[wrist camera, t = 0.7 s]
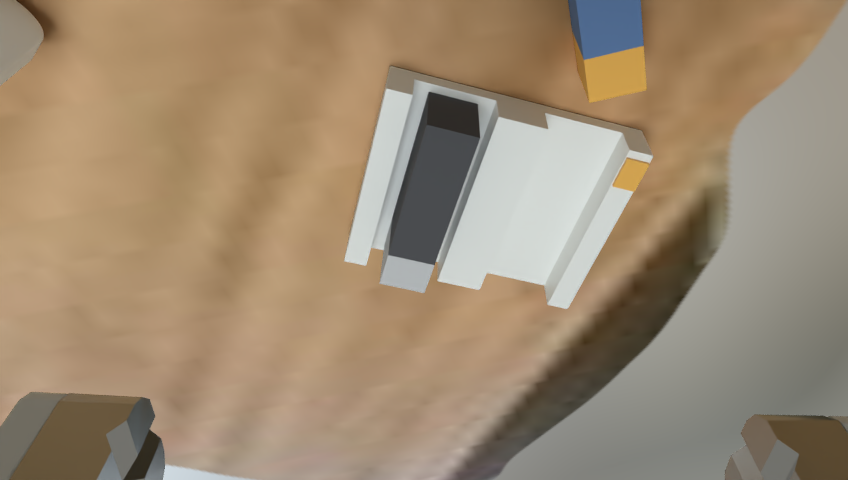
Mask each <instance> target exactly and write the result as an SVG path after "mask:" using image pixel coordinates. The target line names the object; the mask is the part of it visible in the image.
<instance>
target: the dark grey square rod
mask: <svg viewBox="0 0 848 480" xmlns="http://www.w3.org/2000/svg"><path fill="white" fill-rule="evenodd" d="M479 140H480V128H479V114H478V104H476V103H472V102H468V101H464V100H460V99H457V98H453V97H449V96H445V95H441V94H437V93H433V92H428V96H427V99H426V102H425V106H424V109H423V113H422V116H421V120H420V123H419V127H418V130H417V134H416V137H415V141H414V144H413V147H412V151H411V154H410V158H409V161H408V165H407V168H406V172H405V175H404V179H403V182H402V186H401V189H400V192H399V196H398V199H397V203H396V206H395V210H394V213H393V217H392V220H391V224H390V227H389V231H388V234H387V237H386V241H385V244H384V252H383V260H382V268H381V277H380V284H384V285H389V286H394V287H398V288H403V289H408V290H413V291H417V292H422V293H425V290H426V287H427V284H428V282H429V279H430V276H431V273H432V270H433V268H434V265H435V262H436V259H437V257H438V254H439V251H440V248H441V246H442V243H443V240H444V237H445V234H446V232H447V229H448V226H449V223H450V221H451V218H452V215H453V212H454V209H455V207H456V204H457V201H458V198H459V196H460V193H461V190H462V187H463V184H464V182H465V179H466V176H467V173H468V171H469V168H470V165H471V162H472V159H473V157H474V154H475V151H476V148H477V146H478V143H479Z"/></svg>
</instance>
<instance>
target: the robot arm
mask: <svg viewBox="0 0 848 480" xmlns="http://www.w3.org/2000/svg"><path fill="white" fill-rule="evenodd" d="M154 418H155V414H154V411H153V408H152V405H151V402H150V399H147V398H143V397H129V396H110V395H92V394H74V393H69V394H64V393H44V392H31V393H29V394H27V395H26V396H24V397H23V398H21V399H20V400H19V401H18V402H17V404H16V405H15V407H14V408H13V409H12V411H11V412H10V414H9V415H8V417H7V418H6V419H5V421H4V422H3V424H2V425H1V426H0V480H163V475H164V469H165V456H164V448H163V444H162V440H161V438H160V437H158V436H157V435H156V434H155V433H153V432H152V431H151V430H150V427H151V425H152V422H153V420H154ZM741 435H742V437H743V438H744V440H745V442H746V445H745V446H744V447H742V448H741V449H739V450H738V451H736V452H735V453H733V454H732V455H731V457H730V459H729V462H728V465H727V467H726V470H725V480H848V417H843V416H828V417H826V416H816V415H813V416H812V415H811V416H810V415H760V414H759V415H758V414H755V415H753V416H752V417H751V418H749V419H748V420H747V421H746V423H745V426H744V427H743V430H742V432H741Z"/></svg>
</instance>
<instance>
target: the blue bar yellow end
mask: <svg viewBox="0 0 848 480" xmlns="http://www.w3.org/2000/svg"><path fill="white" fill-rule="evenodd" d="M568 3H569V10H570V18H571V25H572V32H573V39H574V47H575V54H576V61H577V69H578V73H579V76H580V79H581V81H582V84H583V87H584V90H585V92H586V95H587V98H588V100H589V103H592V102H596V101H600V100H605V99H609V98H614V97H618V96H622V95H627V94H631V93H636V92H640V91H645V90H647V86H646V72H645V58H644V44H643V29H642V15H641V1H640V0H568Z"/></svg>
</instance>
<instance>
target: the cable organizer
mask: <svg viewBox="0 0 848 480" xmlns="http://www.w3.org/2000/svg"><path fill="white" fill-rule="evenodd" d="M43 38H44V33H43V29H42V27H41V25H40V24H39V22H38V21H37V20H36V18H35V17H34V16H33V15H32V14H31V13H30V12H29V11H28V10H27V9H26V8H25V7H24V6H22V5H21V4H20V3H19V2H17V1H16V0H0V86H1V85H2V84H3V83H4V82H5V81H7V80H8V79H9V78H10V77H12V76H13V75H14V74H15V73H16V72H18V71H19V70H20V69H21V68H22V67H24V66H25V65H26V64H27V63H29V62H30V61H31V60H32V58H33V57H34V55H35V53H36V51H37V50H38V48H39V46H40V44H41V42H42V41H43Z"/></svg>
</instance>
